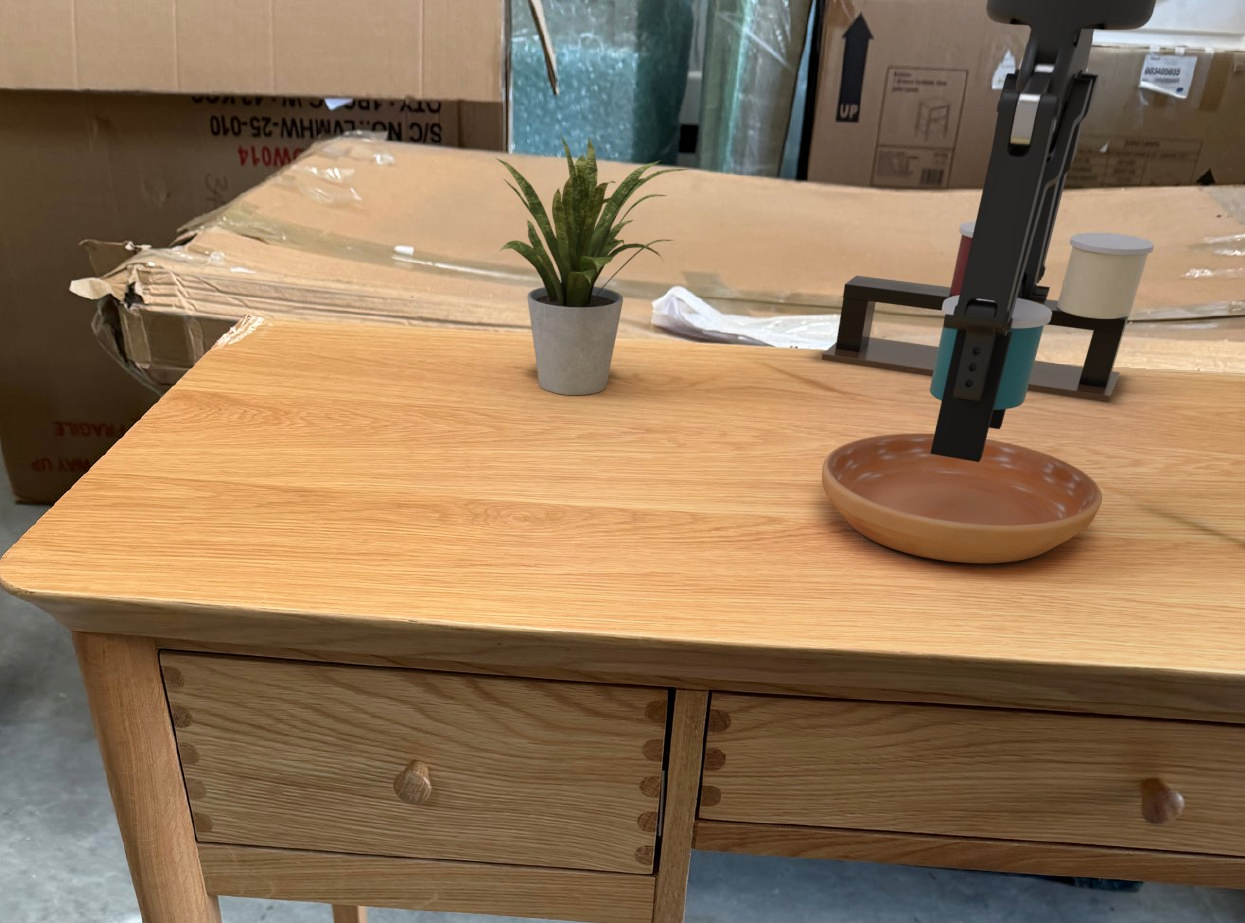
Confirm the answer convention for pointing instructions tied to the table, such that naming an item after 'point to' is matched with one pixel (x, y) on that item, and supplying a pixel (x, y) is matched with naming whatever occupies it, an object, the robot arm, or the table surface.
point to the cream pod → (1103, 275)
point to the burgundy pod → (962, 257)
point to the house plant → (576, 275)
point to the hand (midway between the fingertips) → (967, 438)
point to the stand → (920, 359)
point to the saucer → (958, 498)
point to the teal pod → (1019, 356)
